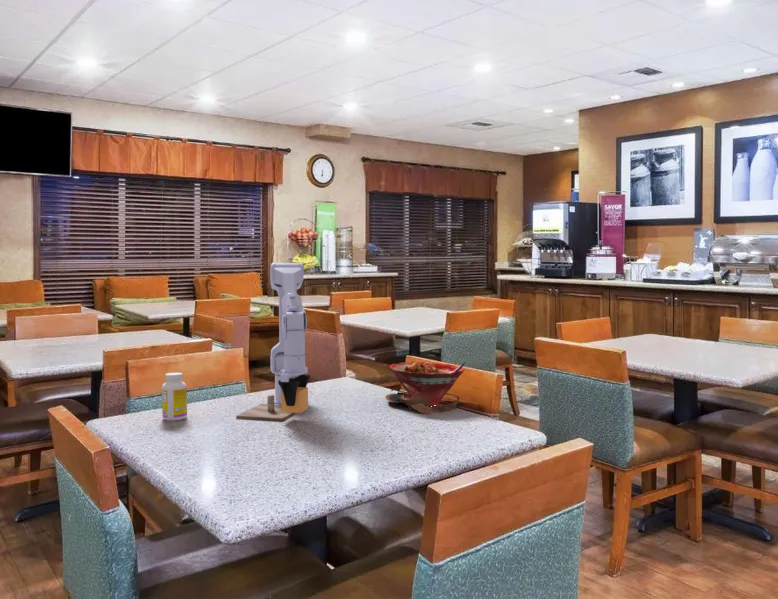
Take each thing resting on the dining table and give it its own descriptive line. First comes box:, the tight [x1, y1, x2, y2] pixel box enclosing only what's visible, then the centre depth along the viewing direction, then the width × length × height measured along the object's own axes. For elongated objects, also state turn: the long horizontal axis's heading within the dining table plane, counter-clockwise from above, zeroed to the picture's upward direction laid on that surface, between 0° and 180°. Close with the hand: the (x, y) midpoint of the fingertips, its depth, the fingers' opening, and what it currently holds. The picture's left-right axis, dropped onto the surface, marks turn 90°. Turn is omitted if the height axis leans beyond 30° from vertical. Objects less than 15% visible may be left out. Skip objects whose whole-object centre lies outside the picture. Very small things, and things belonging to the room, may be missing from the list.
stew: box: [384, 358, 468, 415], centre depth 203 cm, size 28×24×16 cm
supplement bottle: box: [161, 372, 188, 422], centre depth 186 cm, size 7×7×13 cm
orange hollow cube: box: [280, 386, 309, 414], centre depth 183 cm, size 6×6×6 cm
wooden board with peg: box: [235, 394, 297, 422], centre depth 192 cm, size 16×14×6 cm
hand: (294, 403), depth 183 cm, fingers closed on orange hollow cube, 6 cm apart
